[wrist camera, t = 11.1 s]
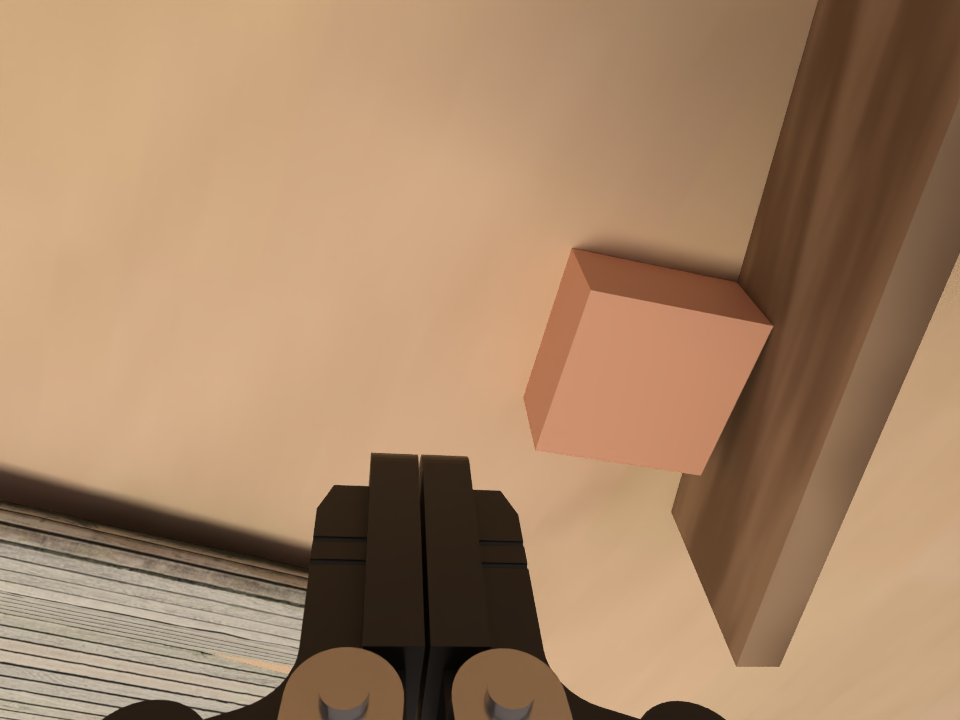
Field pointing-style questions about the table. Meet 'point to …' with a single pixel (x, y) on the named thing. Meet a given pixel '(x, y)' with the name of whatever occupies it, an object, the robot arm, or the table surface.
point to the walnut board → (830, 306)
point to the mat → (135, 620)
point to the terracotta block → (641, 363)
